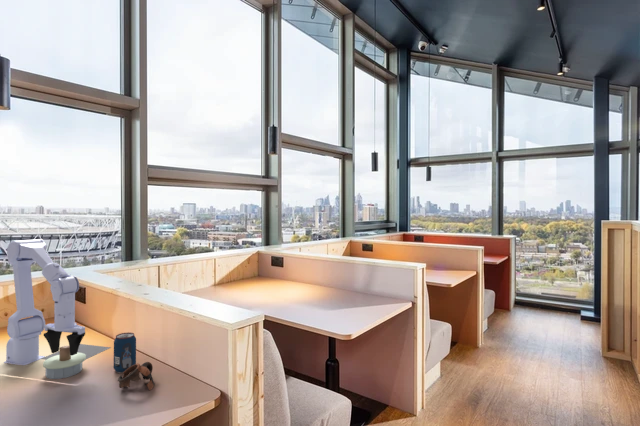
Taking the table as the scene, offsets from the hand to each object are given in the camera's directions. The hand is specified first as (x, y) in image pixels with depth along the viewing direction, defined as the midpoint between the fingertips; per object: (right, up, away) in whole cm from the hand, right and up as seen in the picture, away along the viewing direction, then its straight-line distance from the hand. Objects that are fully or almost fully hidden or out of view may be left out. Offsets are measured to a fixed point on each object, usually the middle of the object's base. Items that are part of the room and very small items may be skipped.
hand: (64, 353), depth 127 cm
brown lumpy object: (+29, -8, -8) cm, 31 cm away
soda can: (+18, -7, +4) cm, 20 cm away
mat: (-6, -7, +17) cm, 19 cm away
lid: (0, -3, 0) cm, 3 cm away
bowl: (0, -7, 0) cm, 7 cm away
